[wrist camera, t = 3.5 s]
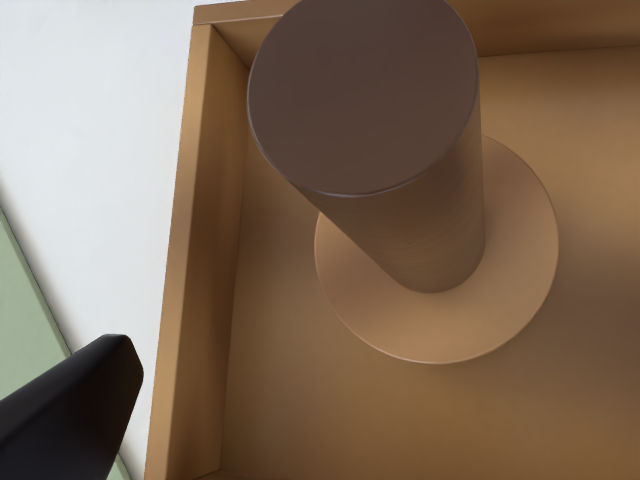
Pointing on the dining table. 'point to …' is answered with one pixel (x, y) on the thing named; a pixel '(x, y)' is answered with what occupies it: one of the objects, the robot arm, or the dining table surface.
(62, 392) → the robot arm
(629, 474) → the tray
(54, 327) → the mat
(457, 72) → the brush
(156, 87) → the dining table surface
